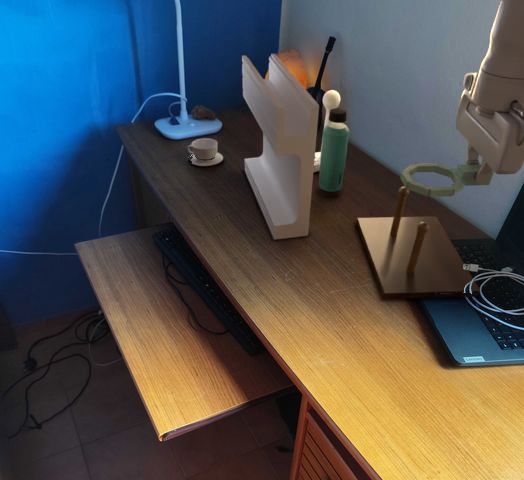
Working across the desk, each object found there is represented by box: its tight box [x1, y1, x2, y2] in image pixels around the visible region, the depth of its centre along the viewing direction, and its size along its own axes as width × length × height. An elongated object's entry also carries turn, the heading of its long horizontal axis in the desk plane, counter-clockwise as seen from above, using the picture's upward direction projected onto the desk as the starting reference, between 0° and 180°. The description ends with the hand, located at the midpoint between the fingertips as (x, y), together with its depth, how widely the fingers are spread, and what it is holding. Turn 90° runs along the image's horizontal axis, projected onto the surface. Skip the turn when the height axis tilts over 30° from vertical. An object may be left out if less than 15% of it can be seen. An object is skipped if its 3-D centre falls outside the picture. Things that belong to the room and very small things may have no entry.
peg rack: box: [356, 186, 481, 300], centre depth 97 cm, size 19×28×13 cm
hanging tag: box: [399, 162, 495, 198], centre depth 83 cm, size 15×10×2 cm
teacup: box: [187, 137, 224, 167], centre depth 132 cm, size 10×10×5 cm
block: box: [241, 53, 320, 240], centre depth 108 cm, size 35×8×28 cm, turn 13°
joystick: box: [313, 89, 341, 173], centre depth 123 cm, size 11×8×20 cm
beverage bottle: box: [318, 107, 350, 193], centre depth 114 cm, size 6×7×20 cm
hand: (474, 175), depth 83 cm, fingers closed on hanging tag, 3 cm apart
